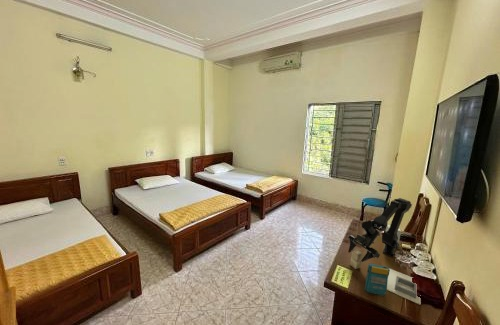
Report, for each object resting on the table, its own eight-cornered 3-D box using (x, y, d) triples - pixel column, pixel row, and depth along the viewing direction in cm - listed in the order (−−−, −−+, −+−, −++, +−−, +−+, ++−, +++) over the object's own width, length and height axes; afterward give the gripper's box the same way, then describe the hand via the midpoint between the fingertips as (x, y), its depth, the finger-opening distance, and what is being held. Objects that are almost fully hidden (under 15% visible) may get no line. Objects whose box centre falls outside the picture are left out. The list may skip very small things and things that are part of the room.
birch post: (354, 263, 133) (356, 249, 131) (359, 267, 129) (362, 253, 127) (349, 264, 131) (352, 250, 129) (355, 269, 128) (357, 254, 125)
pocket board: (389, 269, 128) (389, 264, 128) (420, 281, 119) (421, 276, 119) (385, 289, 113) (386, 284, 112) (420, 304, 104) (421, 299, 103)
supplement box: (395, 241, 159) (398, 226, 156) (398, 246, 152) (401, 231, 149) (383, 239, 161) (386, 224, 159) (386, 244, 154) (389, 229, 152)
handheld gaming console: (383, 291, 112) (388, 266, 108) (386, 297, 108) (391, 272, 105) (363, 287, 114) (368, 263, 111) (365, 293, 110) (370, 268, 107)
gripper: (351, 223, 135) (337, 242, 133) (379, 238, 119) (363, 260, 116) (358, 232, 140) (344, 250, 138) (386, 247, 124) (370, 269, 121)
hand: (354, 256), depth 128 cm, fingers open, 9 cm apart
